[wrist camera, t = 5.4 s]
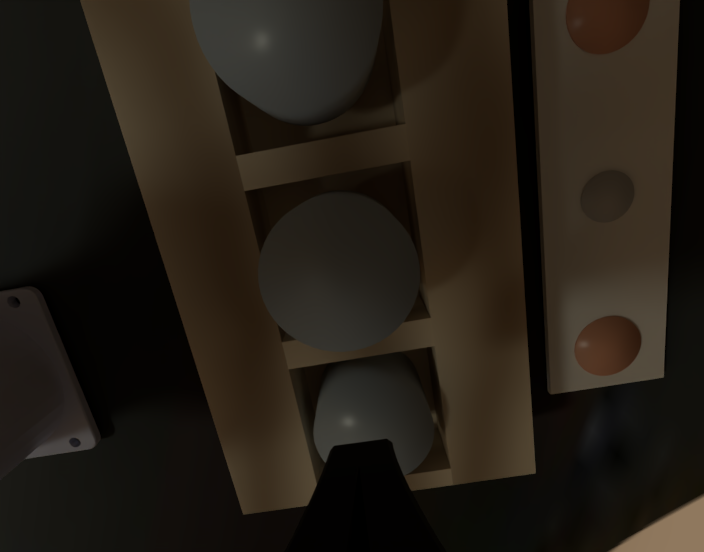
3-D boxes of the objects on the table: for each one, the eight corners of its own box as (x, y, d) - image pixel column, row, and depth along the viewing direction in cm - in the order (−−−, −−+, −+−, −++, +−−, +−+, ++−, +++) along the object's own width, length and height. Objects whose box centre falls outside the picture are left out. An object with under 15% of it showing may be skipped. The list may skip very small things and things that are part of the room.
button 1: (330, 437, 17) (326, 490, 14) (311, 351, 16) (301, 389, 13) (426, 423, 17) (440, 474, 14) (413, 334, 16) (426, 370, 13)
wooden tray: (260, 461, 19) (243, 514, 16) (126, -5, 13) (63, -53, 10) (506, 424, 18) (535, 472, 15) (464, -77, 13) (497, -151, 10)
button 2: (294, 322, 14) (278, 362, 11) (265, 202, 13) (240, 212, 10) (413, 303, 14) (429, 338, 11) (395, 179, 12) (408, 181, 10)
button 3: (250, 137, 12) (218, 126, 9) (213, -21, 11) (164, -89, 8) (385, 111, 12) (396, 92, 9) (362, -53, 11) (365, -135, 8)
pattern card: (547, 390, 17) (551, 395, 17) (526, -38, 13) (532, -45, 13) (658, 373, 17) (665, 378, 17) (675, -69, 13) (685, -77, 12)
